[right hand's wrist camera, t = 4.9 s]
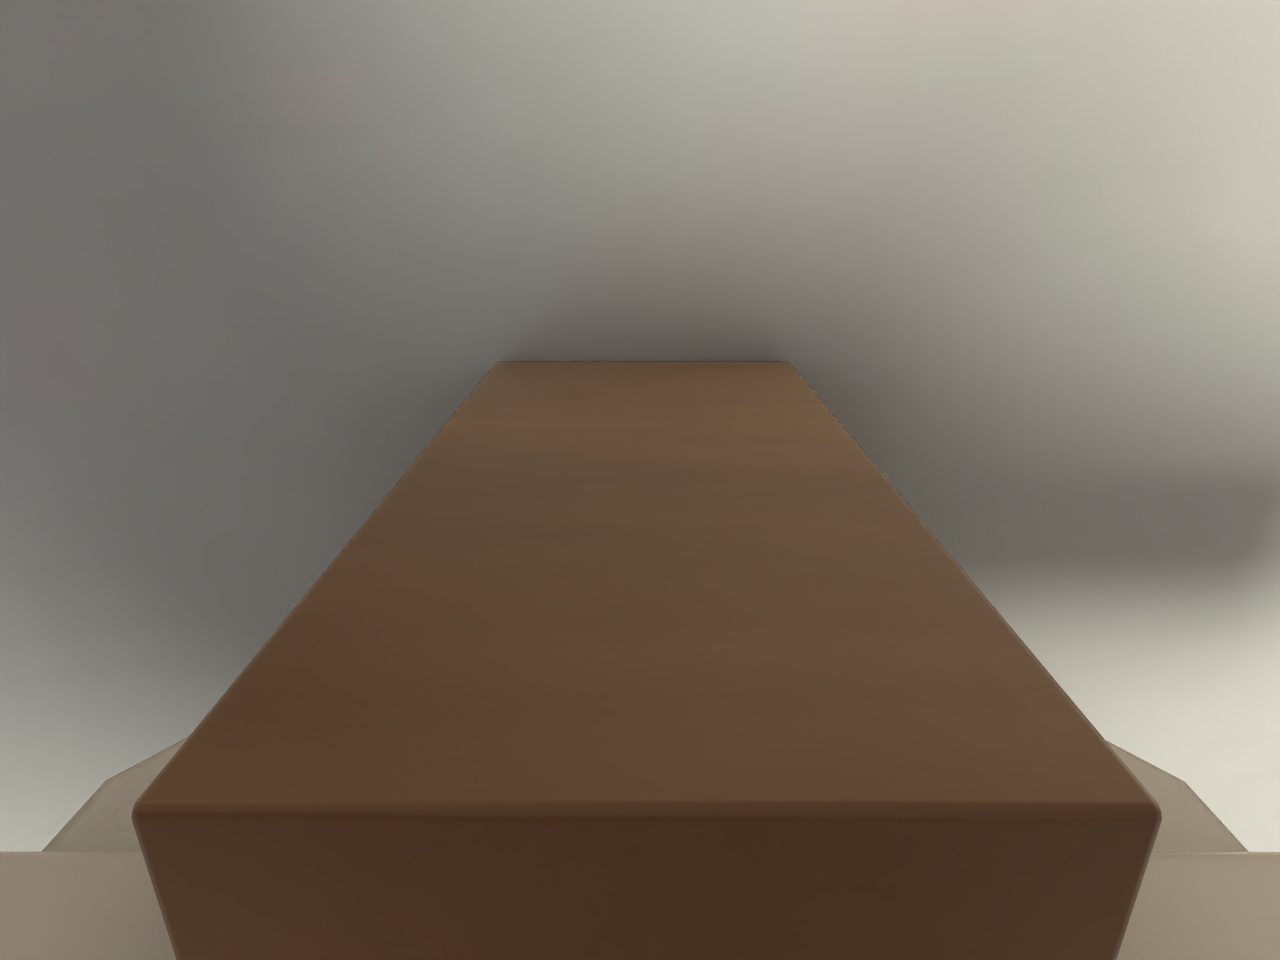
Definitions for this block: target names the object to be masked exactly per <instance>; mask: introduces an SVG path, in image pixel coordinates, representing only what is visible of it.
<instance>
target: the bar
mask: <svg viewBox="0 0 1280 960" xmlns="http://www.w3.org/2000/svg"><path fill="white" fill-rule="evenodd" d="M131 819H132V822H133V825H134V829H135V832H136V835H137V838H138V841H139V844H140V847H141V850H142V854H143V857H144V860H145V863H146V866H147V869H148V872H149V875H150V879H151V882H152V885H153V888H154V891H155V894H156V897H157V901H158V904H159V907H160V910H161V913H162V916H163V919H164V922H165V926H166V929H167V932H168V935H169V938H170V941H171V944H172V947H173V951H174V954H175V957H176V960H1116V959H1117V956H1118V953H1119V950H1120V947H1121V944H1122V941H1123V938H1124V935H1125V932H1126V929H1127V926H1128V922H1129V919H1130V916H1131V913H1132V910H1133V907H1134V904H1135V901H1136V898H1137V895H1138V892H1139V889H1140V886H1141V883H1142V880H1143V877H1144V874H1145V870H1146V867H1147V864H1148V861H1149V858H1150V855H1151V852H1152V849H1153V846H1154V843H1155V840H1156V837H1157V834H1158V831H1159V828H1160V825H1161V821H1162V814H1161V810H1160V807H1159V804H1158V803H1157V801H1156V800H1155V799H1154V798H1153V797H1152V795H1151V794H1150V793H1149V792H1148V791H1147V789H1146V788H1145V787H1144V786H1143V785H1142V783H1141V782H1140V781H1139V780H1138V779H1137V777H1136V776H1135V775H1134V774H1133V773H1132V772H1131V770H1130V769H1129V768H1128V767H1127V766H1126V764H1125V763H1124V762H1123V761H1122V760H1121V758H1120V757H1119V756H1118V755H1117V754H1116V752H1115V751H1114V750H1113V749H1112V748H1111V746H1110V745H1109V744H1108V743H1107V742H1106V740H1105V739H1104V738H1103V737H1102V736H1101V734H1100V733H1099V732H1098V731H1097V730H1096V729H1095V727H1094V726H1093V725H1092V724H1091V723H1090V721H1089V720H1088V719H1087V718H1086V717H1085V715H1084V714H1083V713H1082V712H1081V711H1080V709H1079V708H1078V707H1077V706H1076V705H1075V703H1074V702H1073V701H1072V700H1071V699H1070V697H1069V696H1068V695H1067V694H1066V693H1065V691H1064V690H1063V689H1062V688H1061V687H1060V686H1059V684H1058V683H1057V682H1056V681H1055V680H1054V678H1053V677H1052V676H1051V675H1050V674H1049V672H1048V671H1047V670H1046V669H1045V668H1044V666H1043V665H1042V664H1041V663H1040V662H1039V660H1038V659H1037V658H1036V657H1035V656H1034V654H1033V653H1032V652H1031V651H1030V650H1029V649H1028V647H1027V646H1026V645H1025V644H1024V643H1023V641H1022V640H1021V639H1020V638H1019V637H1018V635H1017V634H1016V633H1015V632H1014V631H1013V629H1012V628H1011V627H1010V626H1009V625H1008V623H1007V622H1006V621H1005V620H1004V619H1003V617H1002V616H1001V615H1000V614H999V613H998V611H997V610H996V609H995V608H994V607H993V606H992V604H991V603H990V602H989V601H988V600H987V598H986V597H985V596H984V595H983V594H982V592H981V591H980V590H979V589H978V588H977V586H976V585H975V584H974V583H973V582H972V580H971V579H970V578H969V577H968V576H967V574H966V573H965V572H964V571H963V570H962V568H961V567H960V566H959V565H958V564H957V563H956V561H955V560H954V559H953V558H952V557H951V555H950V554H949V553H948V552H947V551H946V549H945V548H944V547H943V546H942V545H941V543H940V542H939V541H938V540H937V539H936V537H935V536H934V535H933V534H932V533H931V531H930V530H929V529H928V528H927V527H926V525H925V524H924V523H923V522H922V521H921V520H920V518H919V517H918V516H917V515H916V514H915V512H914V511H913V510H912V509H911V508H910V506H909V505H908V504H907V503H906V502H905V500H904V499H903V498H902V497H901V496H900V494H899V493H898V492H897V491H896V490H895V488H894V487H893V486H892V485H891V484H890V483H889V481H888V480H887V479H886V478H885V477H884V475H883V474H882V473H881V472H880V471H879V469H878V468H877V467H876V466H875V465H874V463H873V462H872V461H871V460H870V459H869V457H868V456H867V455H866V454H865V453H864V451H863V450H862V449H861V448H860V447H859V445H858V444H857V443H856V442H855V441H854V440H853V438H852V437H851V436H850V435H849V434H848V432H847V431H846V430H845V429H844V428H843V426H842V425H841V424H840V423H839V422H838V420H837V419H836V418H835V417H834V416H833V414H832V413H831V412H830V411H829V410H828V408H827V407H826V406H825V405H824V404H823V402H822V401H821V400H820V399H819V398H818V397H817V395H816V394H815V393H814V392H813V391H812V389H811V388H810V387H809V386H808V385H807V383H806V382H805V381H804V380H803V379H802V377H801V376H800V375H799V374H798V373H797V371H796V370H795V369H794V368H793V367H792V365H791V364H790V363H788V362H497V363H496V364H495V365H494V366H493V367H492V369H491V370H490V371H489V372H488V373H487V375H486V376H485V377H484V378H483V380H482V381H481V382H480V383H479V384H478V386H477V387H476V388H475V389H474V390H473V392H472V393H471V394H470V395H469V397H468V398H467V399H466V400H465V401H464V403H463V404H462V405H461V406H460V408H459V409H458V410H457V411H456V412H455V414H454V415H453V416H452V417H451V418H450V420H449V421H448V422H447V423H446V425H445V426H444V427H443V428H442V429H441V431H440V432H439V433H438V434H437V436H436V437H435V438H434V439H433V440H432V442H431V443H430V444H429V445H428V447H427V448H426V449H425V450H424V451H423V453H422V454H421V455H420V456H419V457H418V459H417V460H416V461H415V462H414V464H413V465H412V466H411V467H410V468H409V470H408V471H407V472H406V473H405V475H404V476H403V477H402V478H401V479H400V481H399V482H398V483H397V484H396V485H395V487H394V488H393V489H392V490H391V492H390V493H389V494H388V495H387V496H386V498H385V499H384V500H383V501H382V503H381V504H380V505H379V506H378V507H377V509H376V510H375V511H374V512H373V513H372V515H371V516H370V517H369V518H368V520H367V521H366V522H365V523H364V524H363V526H362V527H361V528H360V529H359V531H358V532H357V533H356V534H355V535H354V537H353V538H352V539H351V540H350V542H349V543H348V544H347V545H346V546H345V548H344V549H343V550H342V551H341V552H340V554H339V555H338V556H337V557H336V559H335V560H334V561H333V562H332V563H331V565H330V566H329V567H328V568H327V570H326V571H325V572H324V573H323V574H322V576H321V577H320V578H319V579H318V580H317V582H316V583H315V584H314V585H313V587H312V588H311V589H310V590H309V591H308V593H307V594H306V595H305V596H304V598H303V599H302V600H301V601H300V602H299V604H298V605H297V606H296V607H295V609H294V610H293V611H292V612H291V613H290V615H289V616H288V617H287V618H286V619H285V621H284V622H283V623H282V624H281V626H280V627H279V628H278V629H277V630H276V632H275V633H274V634H273V635H272V637H271V638H270V639H269V640H268V641H267V643H266V644H265V645H264V646H263V647H262V649H261V650H260V651H259V652H258V654H257V655H256V656H255V657H254V658H253V660H252V661H251V662H250V663H249V665H248V666H247V667H246V668H245V669H244V671H243V672H242V673H241V674H240V676H239V677H238V678H237V679H236V680H235V682H234V683H233V684H232V685H231V686H230V688H229V689H228V690H227V691H226V693H225V694H224V695H223V696H222V697H221V699H220V700H219V701H218V702H217V704H216V705H215V706H214V707H213V708H212V710H211V711H210V712H209V713H208V714H207V716H206V717H205V718H204V719H203V721H202V722H201V723H200V724H199V725H198V727H197V728H196V729H195V730H194V732H193V733H192V734H191V735H190V736H189V738H188V739H187V740H186V741H185V743H184V744H183V745H182V746H181V747H180V749H179V750H178V751H177V752H176V753H175V755H174V756H173V757H172V758H171V760H170V761H169V762H168V763H167V764H166V766H165V767H164V768H163V769H162V771H161V772H160V773H159V774H158V775H157V777H156V778H155V779H154V780H153V781H152V783H151V784H150V785H149V786H148V788H147V789H146V790H145V791H144V792H143V794H142V795H141V796H140V797H139V799H138V800H137V801H136V802H135V805H134V807H133V810H132V817H131Z"/></svg>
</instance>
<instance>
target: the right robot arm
mask: <svg viewBox="0 0 1280 960" xmlns="http://www.w3.org/2000/svg"><path fill="white" fill-rule="evenodd" d="M188 738H189V737H188ZM188 738H186V739H184V740H182V741H180V742H178V743H176V744H174V745H172V746H171V747H169V748H167V749H165V750H163V751H161V752H159V753H157V754H155V755H153V756H152V757H150V758H148V759H146V760H144V761H142V762H140V763H138V764H136V765H135V766H133V767H131V768H129V769H127V770H125V771H123V772H121V773H119V774H117V775H116V776H114V777H112V778H110V779H108V780H106V781H105V782H104V783H103V784H102V785H101V787H100V788H99V789H98V790H97V791H96V792H95V793H94V794H93V795H92V796H91V798H90V799H89V800H88V801H87V802H86V803H85V804H84V805H83V806H82V808H81V809H80V810H79V811H78V812H77V813H76V814H75V815H74V816H73V817H72V819H71V820H70V821H69V822H68V823H67V824H66V825H65V826H64V827H63V829H62V830H61V831H60V832H59V833H58V834H57V835H56V836H55V837H54V838H53V840H52V841H51V842H50V843H49V844H48V845H47V846H46V847H45V848H44V850H43V851H42V852H0V960H176V957H175V954H174V951H173V947H172V944H171V941H170V938H169V935H168V932H167V929H166V926H165V922H164V919H163V916H162V913H161V910H160V907H159V904H158V901H157V897H156V894H155V891H154V888H153V885H152V882H151V879H150V875H149V872H148V869H147V866H146V863H145V860H144V857H143V854H142V850H141V847H140V844H139V841H138V838H137V835H136V832H135V829H134V825H133V822H132V819H131V817H132V810H133V807H134V805H135V802H136V801H137V800H138V799H139V797H140V796H141V795H142V794H143V792H144V791H145V790H146V789H147V788H148V786H149V785H150V784H151V783H152V781H153V780H154V779H155V778H156V777H157V775H158V774H159V773H160V772H161V771H162V769H163V768H164V767H165V766H166V764H167V763H168V762H169V761H170V760H171V758H172V757H173V756H174V755H175V753H176V752H177V751H178V750H179V749H180V747H181V746H182V745H183V744H184V743H185V741H186V740H187V739H188ZM1106 742H1107V743H1108V744H1109V745H1110V746H1111V748H1112V749H1113V750H1114V751H1115V752H1116V754H1117V755H1118V756H1119V757H1120V758H1121V760H1122V761H1123V762H1124V763H1125V764H1126V766H1127V767H1128V768H1129V769H1130V770H1131V772H1132V773H1133V774H1134V775H1135V776H1136V777H1137V779H1138V780H1139V781H1140V782H1141V783H1142V785H1143V786H1144V787H1145V788H1146V789H1147V791H1148V792H1149V793H1150V794H1151V795H1152V797H1153V798H1154V799H1155V800H1156V801H1157V803H1158V804H1159V807H1160V810H1161V814H1162V821H1161V825H1160V828H1159V831H1158V834H1157V837H1156V840H1155V843H1154V846H1153V849H1152V852H1151V855H1150V858H1149V861H1148V864H1147V867H1146V870H1145V874H1144V877H1143V880H1142V883H1141V886H1140V889H1139V892H1138V895H1137V898H1136V901H1135V904H1134V907H1133V910H1132V913H1131V916H1130V919H1129V922H1128V926H1127V929H1126V932H1125V935H1124V938H1123V941H1122V944H1121V947H1120V950H1119V953H1118V956H1117V959H1116V960H1280V852H1248V851H1247V849H1246V848H1245V847H1244V846H1243V845H1242V844H1241V843H1240V842H1239V841H1238V840H1237V839H1236V837H1235V836H1234V835H1233V834H1232V833H1231V832H1230V831H1229V830H1228V829H1227V828H1226V826H1225V825H1224V824H1223V823H1222V822H1221V821H1220V820H1219V819H1218V818H1217V817H1216V816H1215V814H1214V813H1213V812H1212V811H1211V810H1210V809H1209V808H1208V807H1207V806H1206V805H1205V804H1204V802H1203V801H1202V800H1201V799H1200V798H1199V797H1198V796H1197V795H1196V794H1195V793H1194V791H1193V790H1192V789H1191V788H1190V787H1189V786H1188V785H1187V784H1186V783H1185V782H1184V781H1182V780H1180V779H1178V778H1176V777H1175V776H1173V775H1171V774H1169V773H1167V772H1165V771H1163V770H1161V769H1159V768H1157V767H1156V766H1154V765H1152V764H1150V763H1148V762H1146V761H1144V760H1142V759H1140V758H1138V757H1136V756H1135V755H1133V754H1131V753H1129V752H1127V751H1125V750H1123V749H1121V748H1119V747H1117V746H1115V745H1114V744H1112V743H1110V742H1108V741H1106Z"/></svg>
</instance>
